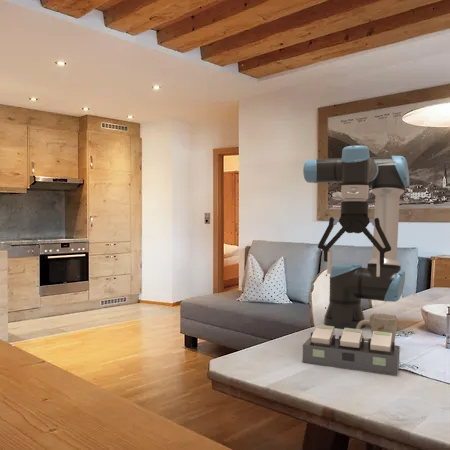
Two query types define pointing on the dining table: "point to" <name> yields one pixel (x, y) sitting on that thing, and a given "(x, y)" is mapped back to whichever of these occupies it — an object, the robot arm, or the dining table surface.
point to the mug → (381, 324)
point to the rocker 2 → (351, 337)
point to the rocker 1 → (322, 334)
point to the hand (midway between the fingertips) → (353, 274)
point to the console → (352, 356)
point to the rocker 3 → (381, 341)
